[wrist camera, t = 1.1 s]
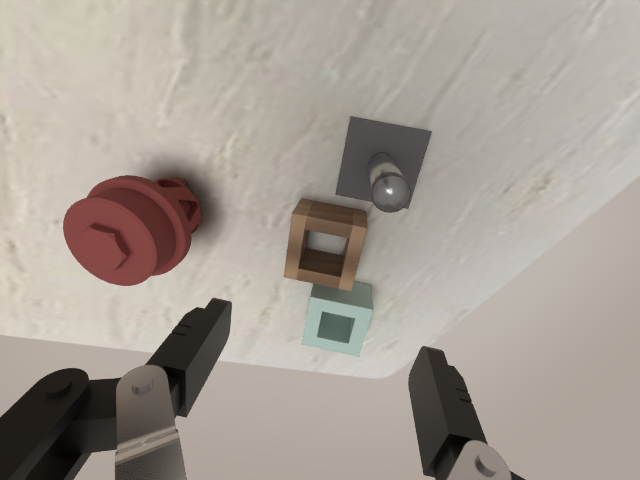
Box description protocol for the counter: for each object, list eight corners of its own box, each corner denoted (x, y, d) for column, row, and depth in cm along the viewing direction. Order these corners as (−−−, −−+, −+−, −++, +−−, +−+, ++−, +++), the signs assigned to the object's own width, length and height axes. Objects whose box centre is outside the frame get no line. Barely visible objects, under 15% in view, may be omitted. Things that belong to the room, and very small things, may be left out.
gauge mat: (350, 116, 30) (350, 116, 30) (431, 131, 30) (431, 131, 30) (335, 193, 34) (335, 194, 33) (407, 207, 33) (408, 208, 33)
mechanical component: (167, 142, 33) (236, 207, 36) (124, 202, 37) (189, 257, 39) (71, 163, 22) (180, 255, 24) (23, 245, 26) (122, 319, 28)
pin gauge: (371, 149, 31) (376, 171, 21) (397, 154, 31) (415, 179, 21) (364, 175, 32) (367, 208, 22) (390, 180, 32) (404, 215, 22)
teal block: (315, 273, 38) (310, 296, 34) (371, 285, 38) (373, 309, 33) (307, 317, 41) (301, 344, 36) (359, 328, 41) (359, 356, 36)
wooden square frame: (301, 198, 34) (292, 213, 30) (366, 211, 34) (367, 228, 29) (292, 255, 37) (283, 277, 33) (352, 268, 37) (351, 291, 33)
